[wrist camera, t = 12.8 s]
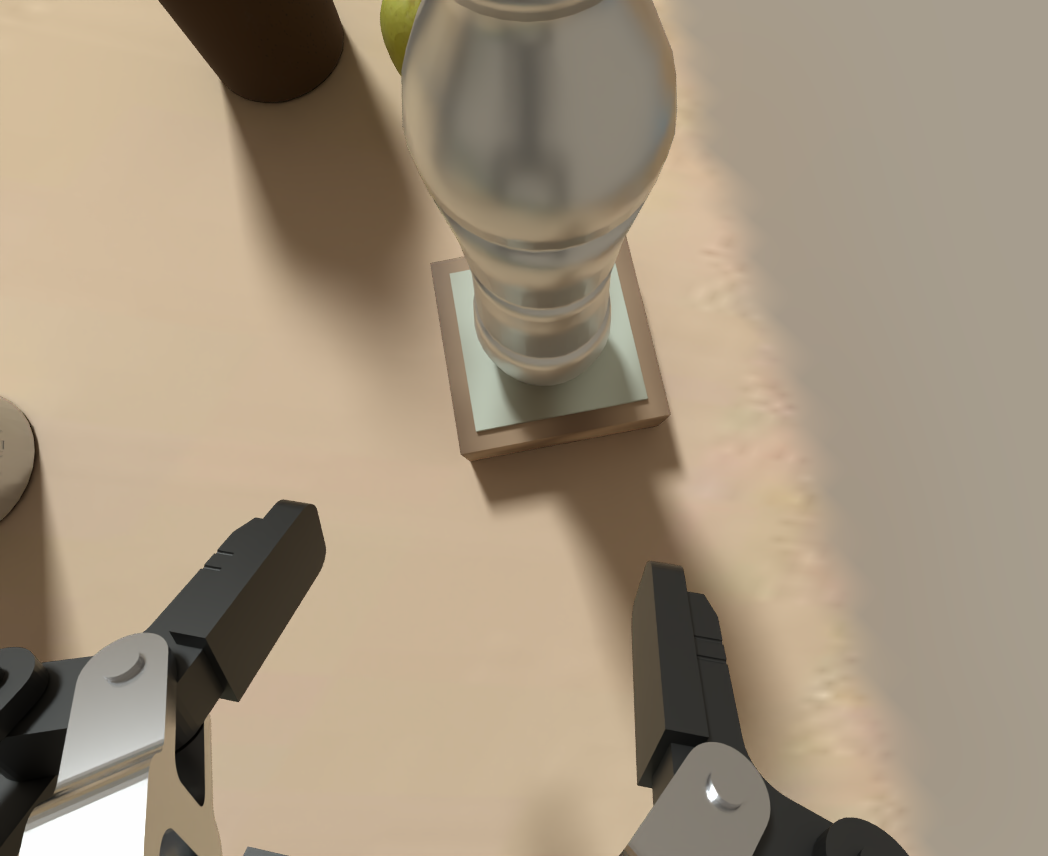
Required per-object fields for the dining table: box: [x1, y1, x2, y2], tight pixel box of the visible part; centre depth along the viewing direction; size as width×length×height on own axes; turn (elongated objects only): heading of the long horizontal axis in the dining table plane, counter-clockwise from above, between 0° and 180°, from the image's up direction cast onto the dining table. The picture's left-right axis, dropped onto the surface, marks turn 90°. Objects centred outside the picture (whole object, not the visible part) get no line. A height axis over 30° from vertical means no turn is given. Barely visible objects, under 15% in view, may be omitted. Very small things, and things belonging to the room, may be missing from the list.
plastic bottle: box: [401, 0, 677, 386], centre depth 16 cm, size 6×7×20 cm
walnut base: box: [430, 236, 671, 461], centre depth 27 cm, size 11×11×3 cm
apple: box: [380, 0, 422, 77], centre depth 28 cm, size 8×8×10 cm
